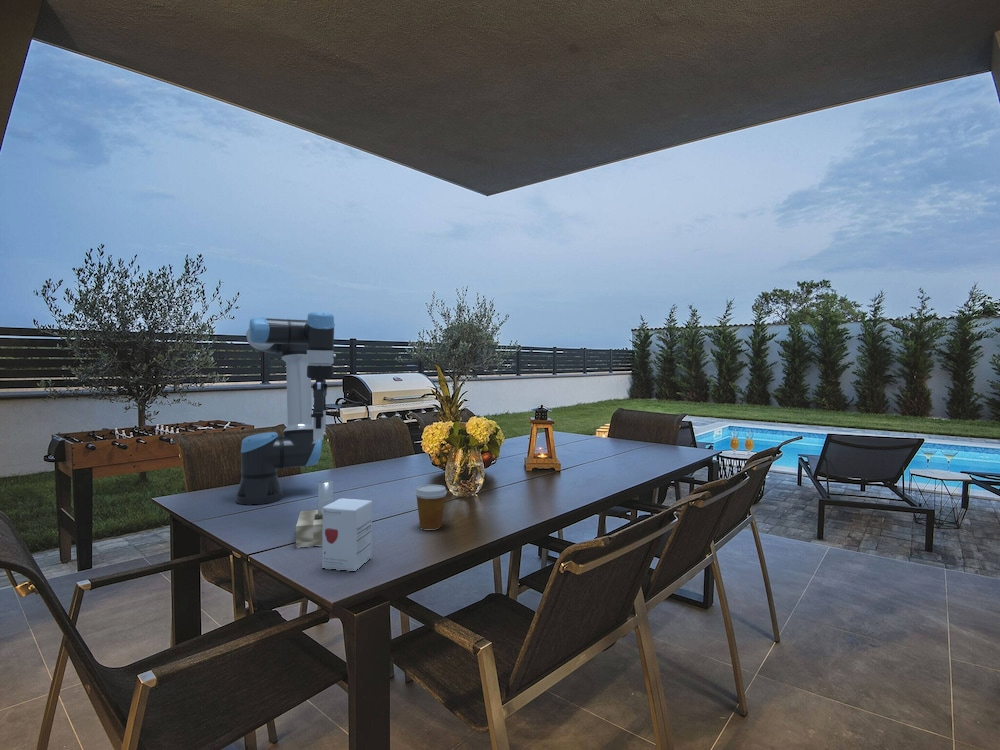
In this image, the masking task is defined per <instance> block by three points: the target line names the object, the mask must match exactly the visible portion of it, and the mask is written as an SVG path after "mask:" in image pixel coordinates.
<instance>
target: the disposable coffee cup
mask: <svg viewBox="0 0 1000 750" xmlns="http://www.w3.org/2000/svg"><path fill="white" fill-rule="evenodd" d="M447 493H448V490H447V489H446V487H445V485H441V484H423V485H419V486H417V487H416V490H415V492H414V494H415V496H416V502H417V503H416V505H417V510H418V511H417V512H418V520H419V522H418V523H419V528H422V529H436V528H439V527H441V528H442V523H443V516H444V510H445V501H446V496H447ZM422 529H421V530H422Z"/></svg>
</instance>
